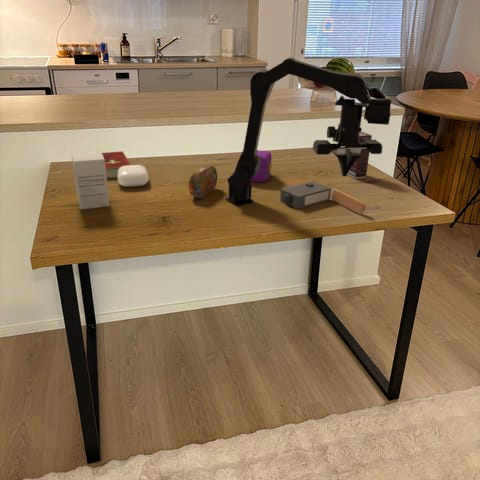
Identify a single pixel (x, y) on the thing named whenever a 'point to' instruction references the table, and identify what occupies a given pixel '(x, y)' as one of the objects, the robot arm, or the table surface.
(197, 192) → the tin
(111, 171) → the hardcover book
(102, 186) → the supplement box
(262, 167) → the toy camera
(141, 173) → the earbud case
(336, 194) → the side door
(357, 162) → the supplement box
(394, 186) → the table surface
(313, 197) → the block
